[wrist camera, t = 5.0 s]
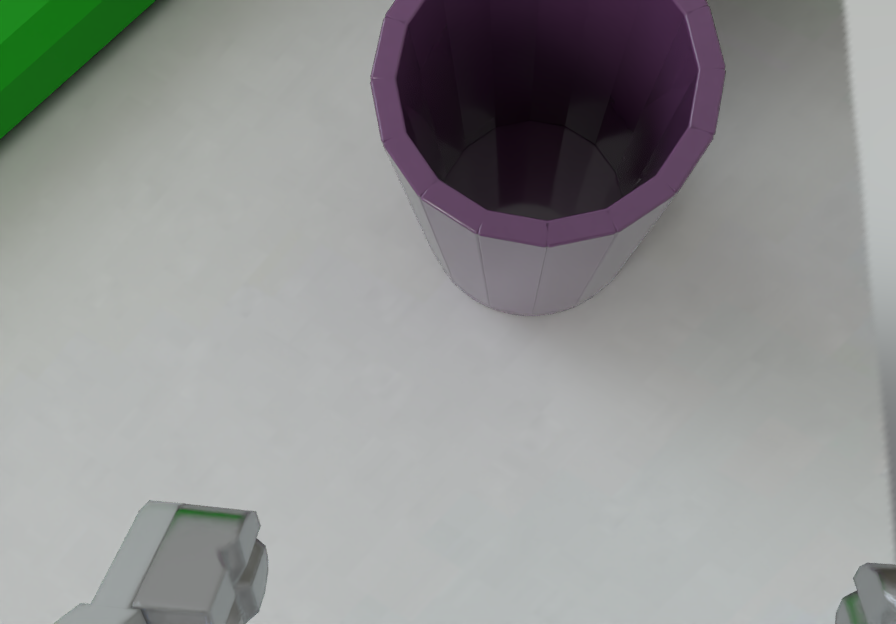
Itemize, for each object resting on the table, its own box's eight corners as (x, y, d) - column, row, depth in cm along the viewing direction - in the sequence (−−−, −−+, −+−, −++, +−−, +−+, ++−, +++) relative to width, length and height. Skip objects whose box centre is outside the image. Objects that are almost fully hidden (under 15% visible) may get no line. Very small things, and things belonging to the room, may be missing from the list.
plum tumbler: (675, 183, 24) (791, 20, 14) (561, 356, 24) (598, 313, 14) (501, 77, 25) (495, -146, 15) (387, 243, 25) (305, 125, 15)
